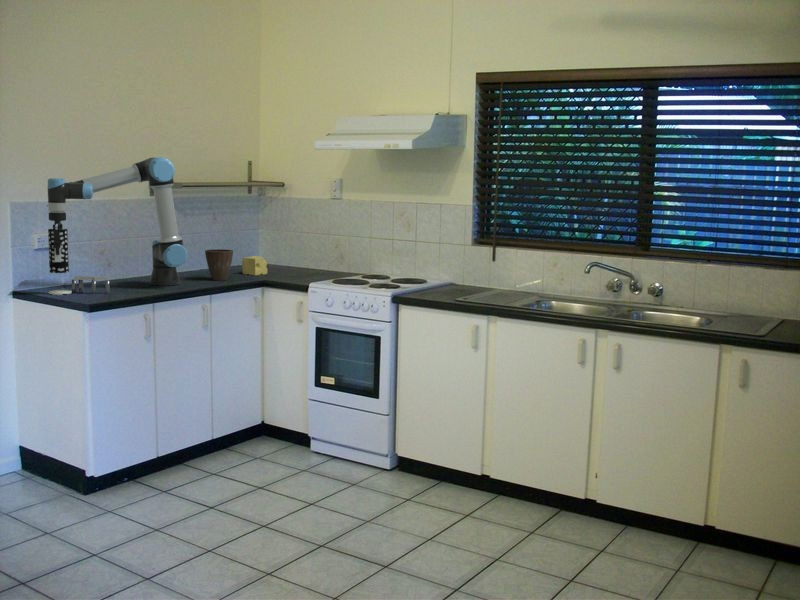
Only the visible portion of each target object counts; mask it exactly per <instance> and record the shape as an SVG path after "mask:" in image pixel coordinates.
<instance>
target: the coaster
mask: <svg viewBox="0 0 800 600" xmlns="http://www.w3.org/2000/svg"><path fill="white" fill-rule="evenodd" d="M50 294H52V295H53V296H64V295H63V294H67V295H71V294H72V289H71V290H70V289H54V290H49V291H48V295H50ZM52 295H51V296H52Z"/></svg>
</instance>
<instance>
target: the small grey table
mask: <svg viewBox="0 0 800 600" xmlns="http://www.w3.org/2000/svg"><path fill="white" fill-rule="evenodd" d="M77 281H78V290H77ZM84 281H91V294H92V293H96V294H97V281H99V282H100V281H104V286H105V287H104V291H105V294H110V293H111V291H110V290H111V286H110V279H108V276H89V275H86V276H85V275H73V278H72V279H71V291H72V292H73V294H76V293H75V292H78V293H79V292H83V293H84Z"/></svg>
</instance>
